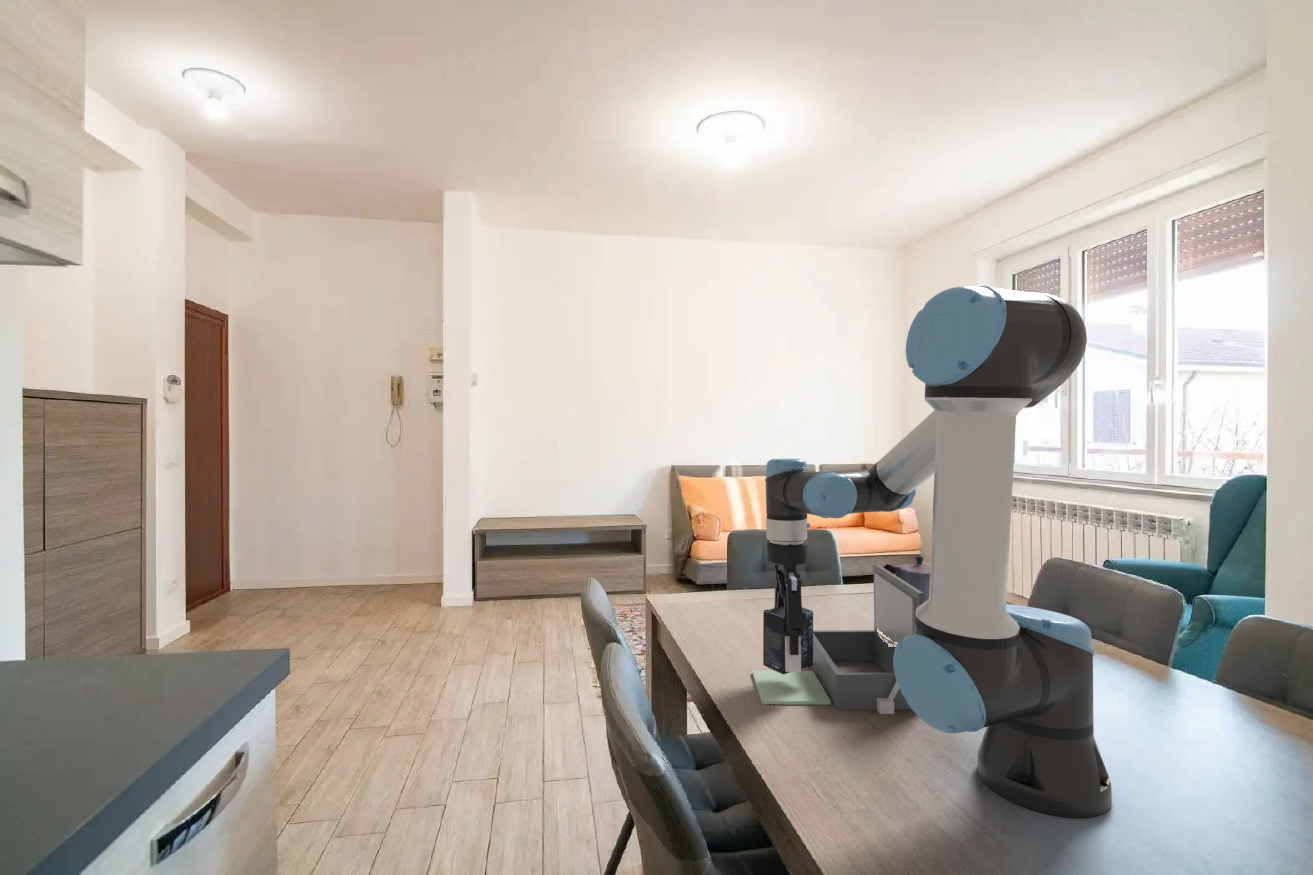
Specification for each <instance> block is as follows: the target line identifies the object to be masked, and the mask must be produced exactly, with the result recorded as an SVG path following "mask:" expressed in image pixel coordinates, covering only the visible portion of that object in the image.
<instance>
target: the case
mask: <svg viewBox="0 0 1313 875" xmlns="http://www.w3.org/2000/svg"><path fill="white" fill-rule="evenodd" d="M872 565H873V568H872V569H873V614H874V616H873V617H874V619H873V622H874V623H873V624H874V626H873V627H874V629H873V630H871V629H869V630H866V629H863V630H862V629H860V630H859V629H858V630H848V629H847V630H840V629H838V630H826V629H825V630H823V629H822V630H821V629H820V630H813V666H811V668H812V671H814V673H815V675H816V677H817V678H818V680H819V682H820V683H821V685H822V687H823V689H824V690H825V692H826V694H827V695H828V697H829V699H830V701H831V703H832V704H833V707H835V710H839V711H840V710H842V711H843V710H845V711H849V710H850V711H857V710H858V711H859V710H860V711H863V710H865V711H870V710H871V711H873V710H874V711H877V712H878V714H879V715H895V711H913V710H912V709H911V707H910V706H909V705H908V703H907V700H906V698H905V697H904V696H903V695H902V693H901V691H900V688H899V686H898V683H897V680H896V677H895V673H894V667H893V656H894V651H895V648H896V647H888V644H887V643H886V642H883V640H882V639H881V638H880V637H879V636H878V632H877V627H878V628H879V630H880V631H881V632H883V634H884V635H886V637H889V638H890V639H891V640H892V641H893V642H897V643H900V642H901V641H902V639H904V638H905V637H906V636H907V635H914V633H915V615H916V614H915V613H916V609H917V608H918V607H919V606H920V605H922V604H923V603H924V596H923V592H921V591H920V590H918V589H916V588H915V587H913V586H912V585H910V584H908V583H907V582H905V581H904V580H902V579H900V578H899V577H898V576H897V574H892V573H891V572H889V571H888V570H886V569H885V568H884V566H881V565H879V564H878V563H873V564H872ZM834 661H838V662H839V661H844V662H845V661H849V662H850V661H851V662H852V661H862V662H864V661H873V662H874V661H875V663H877V664H878V665H879V666H880V667H881V668H882V670H883V671H884V672H841V670H839V668H838V667H837V665H836V663H835V662H834Z"/></svg>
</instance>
